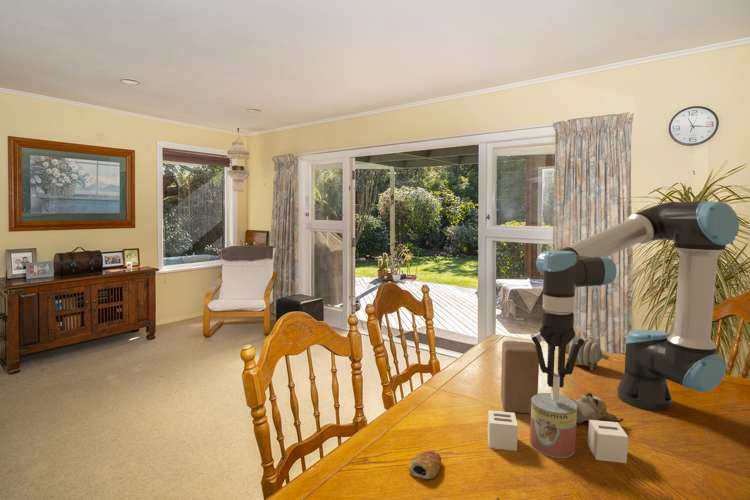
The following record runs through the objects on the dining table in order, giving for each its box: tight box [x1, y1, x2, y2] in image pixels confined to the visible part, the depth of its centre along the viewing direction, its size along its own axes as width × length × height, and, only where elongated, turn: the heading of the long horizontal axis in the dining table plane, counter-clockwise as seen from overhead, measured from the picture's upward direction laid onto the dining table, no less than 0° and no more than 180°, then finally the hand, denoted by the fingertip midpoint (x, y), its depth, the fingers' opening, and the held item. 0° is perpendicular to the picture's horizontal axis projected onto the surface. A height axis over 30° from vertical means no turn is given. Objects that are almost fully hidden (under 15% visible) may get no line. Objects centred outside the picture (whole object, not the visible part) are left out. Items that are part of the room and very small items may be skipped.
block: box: [500, 340, 540, 415], centre depth 132 cm, size 10×10×20 cm
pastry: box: [407, 450, 442, 480], centre depth 102 cm, size 9×7×4 cm
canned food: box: [529, 392, 578, 459], centre depth 111 cm, size 11×11×12 cm
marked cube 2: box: [587, 420, 629, 464], centre depth 107 cm, size 7×7×7 cm
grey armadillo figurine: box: [565, 338, 610, 371], centre depth 165 cm, size 11×17×11 cm, turn 48°
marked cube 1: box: [487, 409, 519, 452], centre depth 112 cm, size 7×7×7 cm
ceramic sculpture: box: [568, 392, 624, 424], centre depth 124 cm, size 11×9×15 cm
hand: (554, 398), depth 110 cm, fingers closed
